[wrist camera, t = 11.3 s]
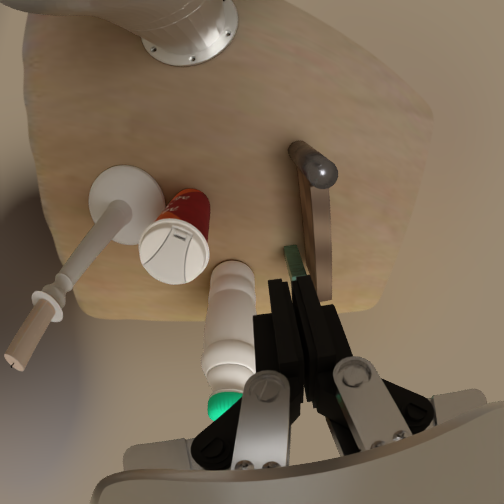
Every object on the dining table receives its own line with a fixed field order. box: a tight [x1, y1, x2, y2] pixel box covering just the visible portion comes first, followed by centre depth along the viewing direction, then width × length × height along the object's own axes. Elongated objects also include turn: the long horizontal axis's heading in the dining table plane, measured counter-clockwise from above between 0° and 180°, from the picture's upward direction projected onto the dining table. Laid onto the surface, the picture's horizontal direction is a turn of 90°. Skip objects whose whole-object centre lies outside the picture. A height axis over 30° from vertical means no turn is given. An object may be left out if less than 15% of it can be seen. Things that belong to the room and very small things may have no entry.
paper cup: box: [139, 189, 210, 285], centre depth 34 cm, size 8×8×14 cm
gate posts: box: [284, 141, 338, 281], centre depth 35 cm, size 18×3×12 cm, turn 0°
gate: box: [297, 166, 332, 302], centre depth 36 cm, size 16×2×9 cm, turn 10°
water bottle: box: [201, 261, 257, 421], centre depth 35 cm, size 7×7×25 cm
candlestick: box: [4, 165, 166, 371], centre depth 26 cm, size 13×13×30 cm
